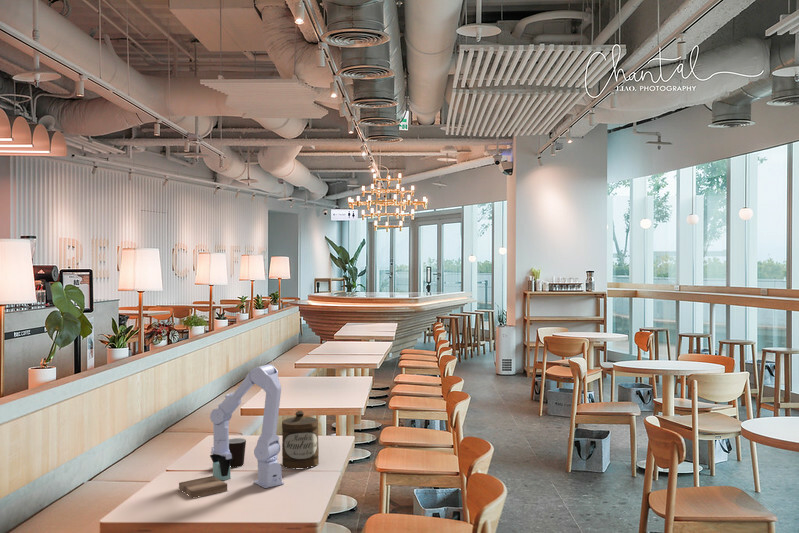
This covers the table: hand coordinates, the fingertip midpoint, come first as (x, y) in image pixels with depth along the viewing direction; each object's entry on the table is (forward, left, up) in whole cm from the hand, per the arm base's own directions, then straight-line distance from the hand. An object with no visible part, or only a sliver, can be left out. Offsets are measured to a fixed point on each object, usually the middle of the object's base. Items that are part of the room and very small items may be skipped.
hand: (221, 474), depth 261 cm
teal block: (0, 0, -2) cm, 2 cm away
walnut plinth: (-9, +11, -2) cm, 14 cm away
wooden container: (-3, -33, -2) cm, 33 cm away
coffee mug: (+15, -13, -2) cm, 20 cm away
